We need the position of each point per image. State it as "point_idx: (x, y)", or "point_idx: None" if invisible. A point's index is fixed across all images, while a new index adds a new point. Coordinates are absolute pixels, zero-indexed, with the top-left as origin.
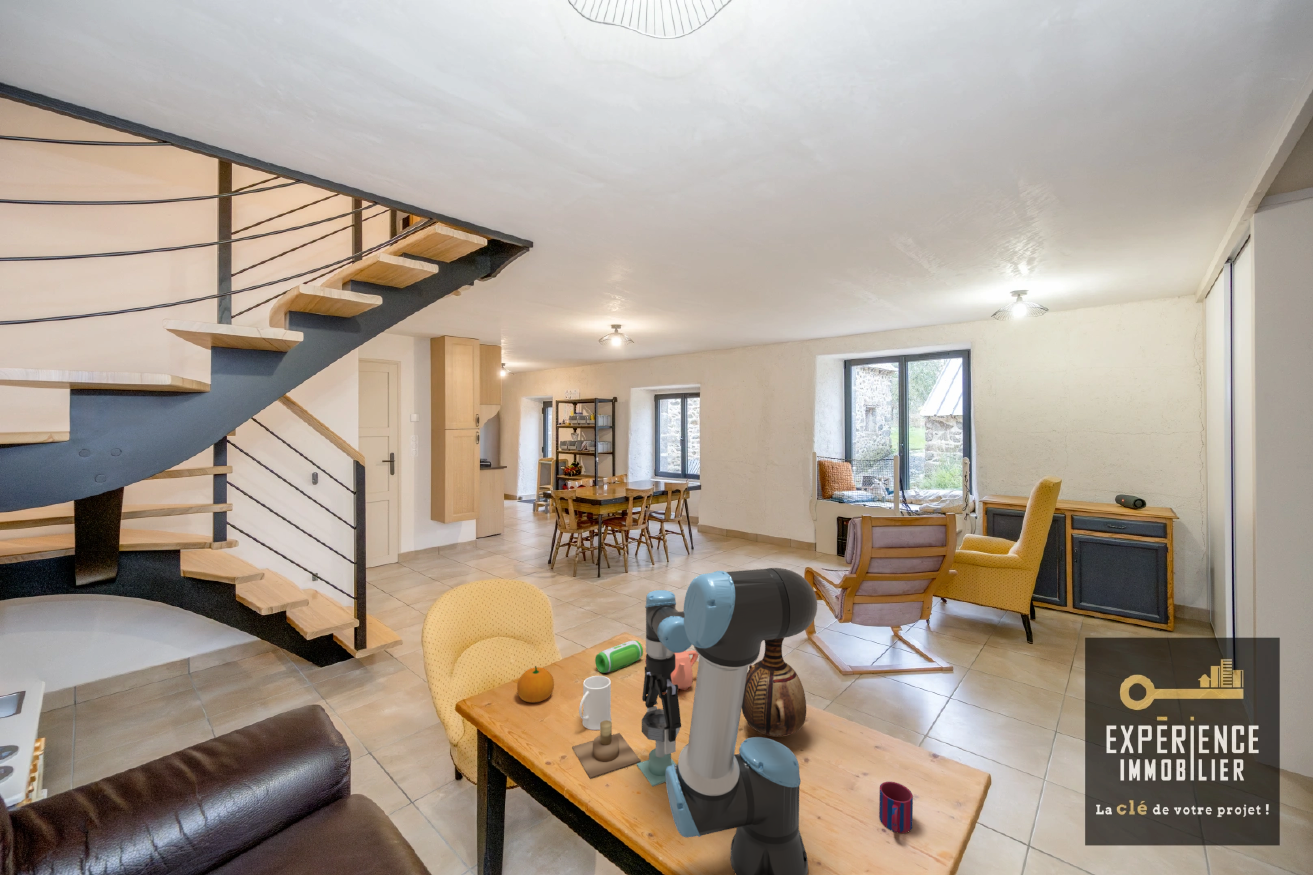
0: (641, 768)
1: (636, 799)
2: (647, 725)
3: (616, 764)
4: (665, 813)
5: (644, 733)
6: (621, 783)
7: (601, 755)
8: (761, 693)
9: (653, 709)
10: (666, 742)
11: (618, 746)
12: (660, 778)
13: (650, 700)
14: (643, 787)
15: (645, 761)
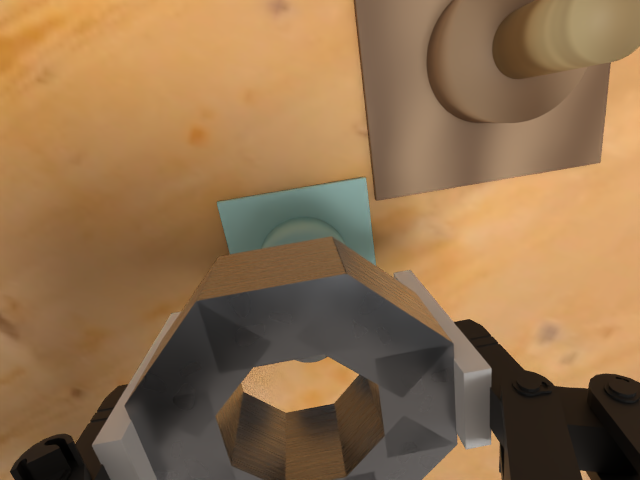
0: (329, 188)
1: (156, 114)
2: (226, 300)
3: (393, 86)
4: (59, 204)
5: (283, 248)
6: (270, 77)
7: (453, 6)
8: None
9: (458, 409)
10: (144, 359)
11: (469, 112)
12: (246, 243)
13: (507, 473)
14: (222, 164)
15: (365, 217)
